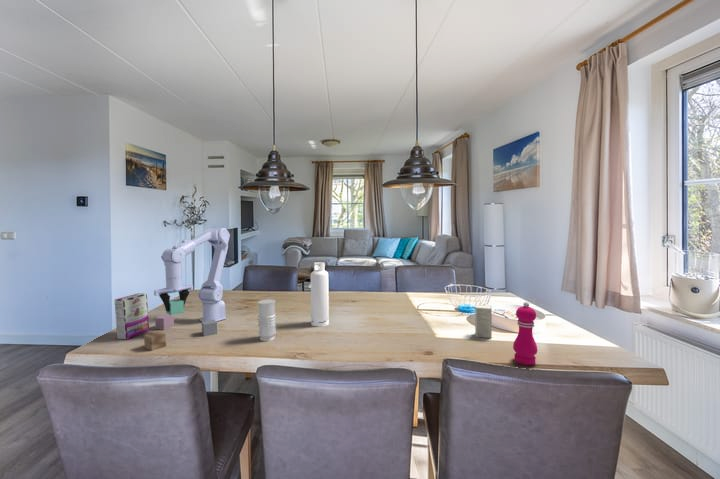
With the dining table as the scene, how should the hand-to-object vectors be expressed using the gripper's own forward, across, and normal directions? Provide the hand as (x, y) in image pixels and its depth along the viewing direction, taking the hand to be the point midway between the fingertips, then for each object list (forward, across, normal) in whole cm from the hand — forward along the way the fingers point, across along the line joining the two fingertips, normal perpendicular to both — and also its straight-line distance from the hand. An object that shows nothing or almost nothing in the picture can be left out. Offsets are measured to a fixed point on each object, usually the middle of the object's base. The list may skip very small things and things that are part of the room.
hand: (175, 309), depth 137 cm
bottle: (+10, +47, -38) cm, 61 cm away
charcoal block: (+10, +9, -11) cm, 18 cm away
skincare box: (+10, +78, -101) cm, 128 cm away
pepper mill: (+10, +63, -120) cm, 136 cm away
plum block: (+10, 0, +12) cm, 16 cm away
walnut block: (+10, -11, -10) cm, 18 cm away
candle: (+10, +21, -35) cm, 42 cm away
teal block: (+2, 0, 0) cm, 2 cm away
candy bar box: (+10, -12, +12) cm, 20 cm away
